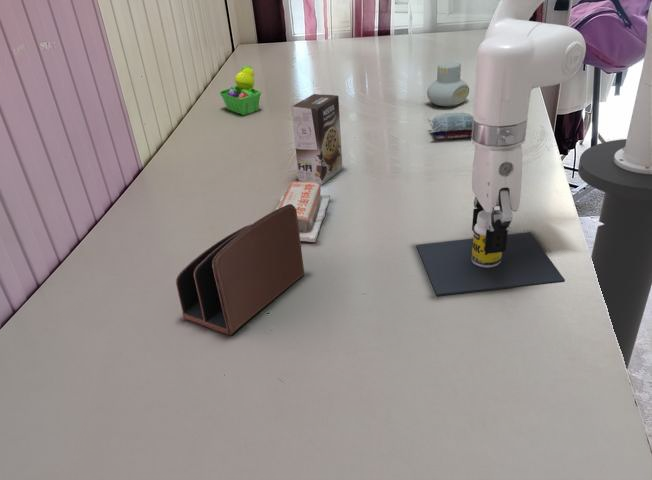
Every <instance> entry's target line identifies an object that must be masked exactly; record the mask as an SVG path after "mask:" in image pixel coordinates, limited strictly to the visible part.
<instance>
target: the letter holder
mask: <svg viewBox="0 0 652 480" xmlns="http://www.w3.org/2000/svg"><path fill="white" fill-rule="evenodd" d="M301 244H302V243H301V241H300V234H299V226H298V219H297V211H296V208H295V207H294V206H293V205H292V204H289V205H286V206H283V207H281V208H279V209H277V210H276V209H275V210H273V211H271V212H269V213H268V214H266V215H264V216H262V217H261V218H260V219H257V220H256V221H255V222H254V223H252V224H248V225H245V226H243V227H241V228H239V229H238V230H236V231H234V232H232V233H230V234H228V235H226V236H225V237H224V238H222V239H220V240H219V241H218V242H216V243H214V244H213V245H212V246H210V247H209V248H207V249H206V250H205V251H203V252H202V253H200V254H199V255H198V256H196V258H194V259H193V260H192V261H190V263H188V264H187V265H186V266H185V267H184V268H183V269H182V270H181V271H180V272H179V273H178V275H177V276H176V279H175V285H176V290H177V294H178V299H179V303H180V307H181V312H182V317H183V319H184V320H188V321H190V322H193V323H196V324H198V325H201V326H204V327H205V328H206V327H207V328H209V329H211V330H215V331H217V332H220V333H222V334H225V335H227V336H232V335H233V334H234V333H235V332H237V330H239V329H240V328H241V327H242V326H243V325H245V324H246V323H247V322H248V321H249V320H250V319H252V318H253V317H254V316H255V315H256V314H258V313H259V312H260V311H262V310H263V309H264V308H265V307H267V306H268V305H269V304H270V303H272V302H273V301H274V300H275V299H277V298H278V297H279V296H280V295H281V294H282V293H284V292H285V291H286V290H288V288H290V287H291V286H292V285H294V283H296V282H297V281H298V280H299V279H301V278H302V277H303V276H304V275H305V267H304V261H303V260H304V259H303V252H302V245H301Z"/></svg>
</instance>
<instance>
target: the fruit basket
mask: <svg viewBox="0 0 652 480" xmlns="http://www.w3.org/2000/svg"><path fill="white" fill-rule="evenodd" d="M254 77H255V72H254V70H253V69H252V66H251V65H243V66H242V67H241V69H240V71H239V72H238V73H237V74H236V76H235V77H234V81H235V84H236V85H233V86H231V87H230V88H227V89H223V90H221V91H219V94H220V97H222V100H223V102H224V104H225V107H226V109H227V110H229V111H231V112H234V113H236V114H239V115H242V116H246V115H250V114H252V113H255V112H258V111H259V109H260V108H259V107H260V106H259V105H260V97H261V94H262V91H261V90H258V89H255V88H254V87H255V78H254Z"/></svg>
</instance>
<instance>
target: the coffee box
mask: <svg viewBox="0 0 652 480" xmlns="http://www.w3.org/2000/svg"><path fill="white" fill-rule="evenodd" d="M339 98H340V97H339V95H336V94H319V93H313V94H311V95H310V96H307V97H306V98H304V99H303V100H301V101H299V102H297V103H295V104H293V105H291V114H292V124H293V134H294V147H295V155H296V156H295V157H296V164H297V165H296V167H297V177H298V178H297V179H298V181H302V182H303V181H305V182H306V181H314V182H317V183H319V184H320V185H321V186H322V185H323V184H324V183H327V182H328V181H329V180H330V179H331V178H333V177H334V176H335V175H337V174H338V173H339V172H341V171H343V152H342V150H343V149H342V137H341V119H340V118H341V117H340V116H341V115H340V101H339V100H340V99H339Z"/></svg>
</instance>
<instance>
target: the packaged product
mask: <svg viewBox="0 0 652 480" xmlns="http://www.w3.org/2000/svg"><path fill="white" fill-rule="evenodd" d="M321 186H322V184H321V185H320V184H319V183H317V182H314V181H306V182H305V181H299V180H298V181H291V182H289V185H288V186H287V188H286V191H285V193H284V194H282V195H281V197H280V200H279V202H278V204H277V206H276V208H275V210H277V209H279V208H281V207H283V206H286V205H289V204H292V205H293V206H294V207H295V208H296V211H297V219H298V226H299V234H300V242H309V243H316V241H317V238H318V235H319V231H320V228H321V225H322V223H323V220H324V219H325V217H326V210H327V208H328V205H329V201H330V198H331V195H330V194H325V195H324V194H321V191H322V188H321Z"/></svg>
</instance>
